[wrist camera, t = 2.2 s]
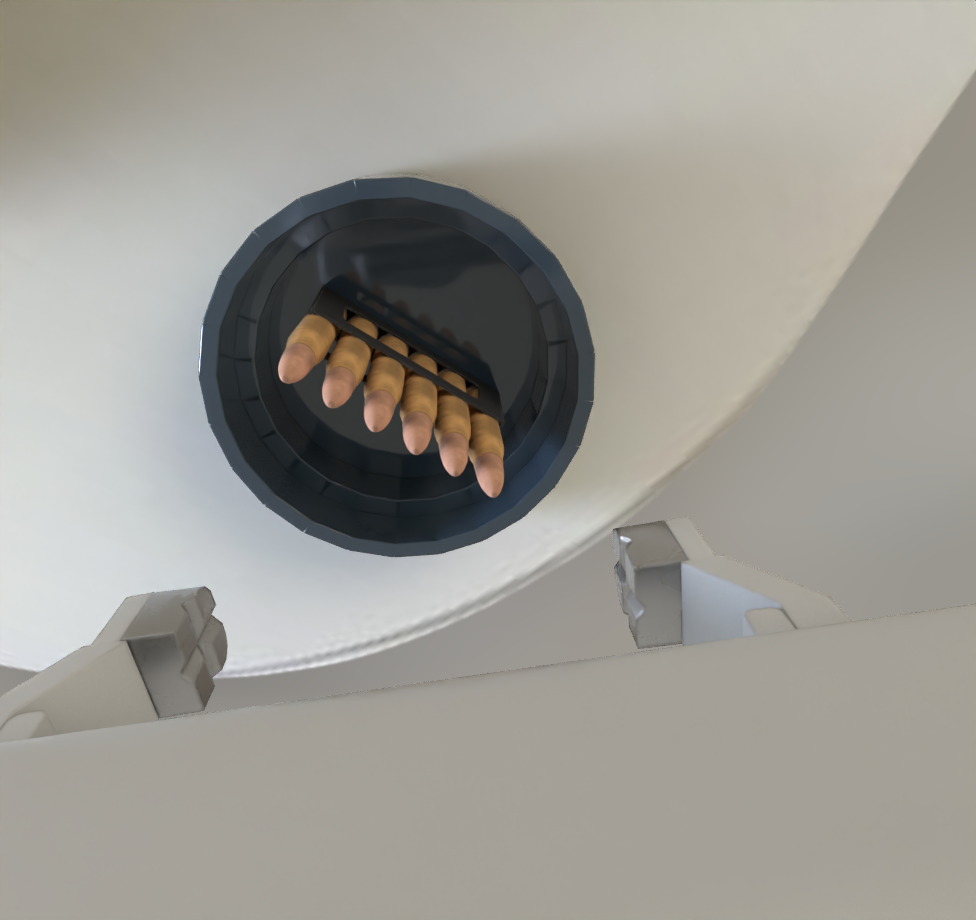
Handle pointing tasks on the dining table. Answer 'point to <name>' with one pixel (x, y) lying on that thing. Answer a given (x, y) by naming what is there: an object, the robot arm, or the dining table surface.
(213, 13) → the dining table surface
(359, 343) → the ammunition clip
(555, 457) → the bowl
